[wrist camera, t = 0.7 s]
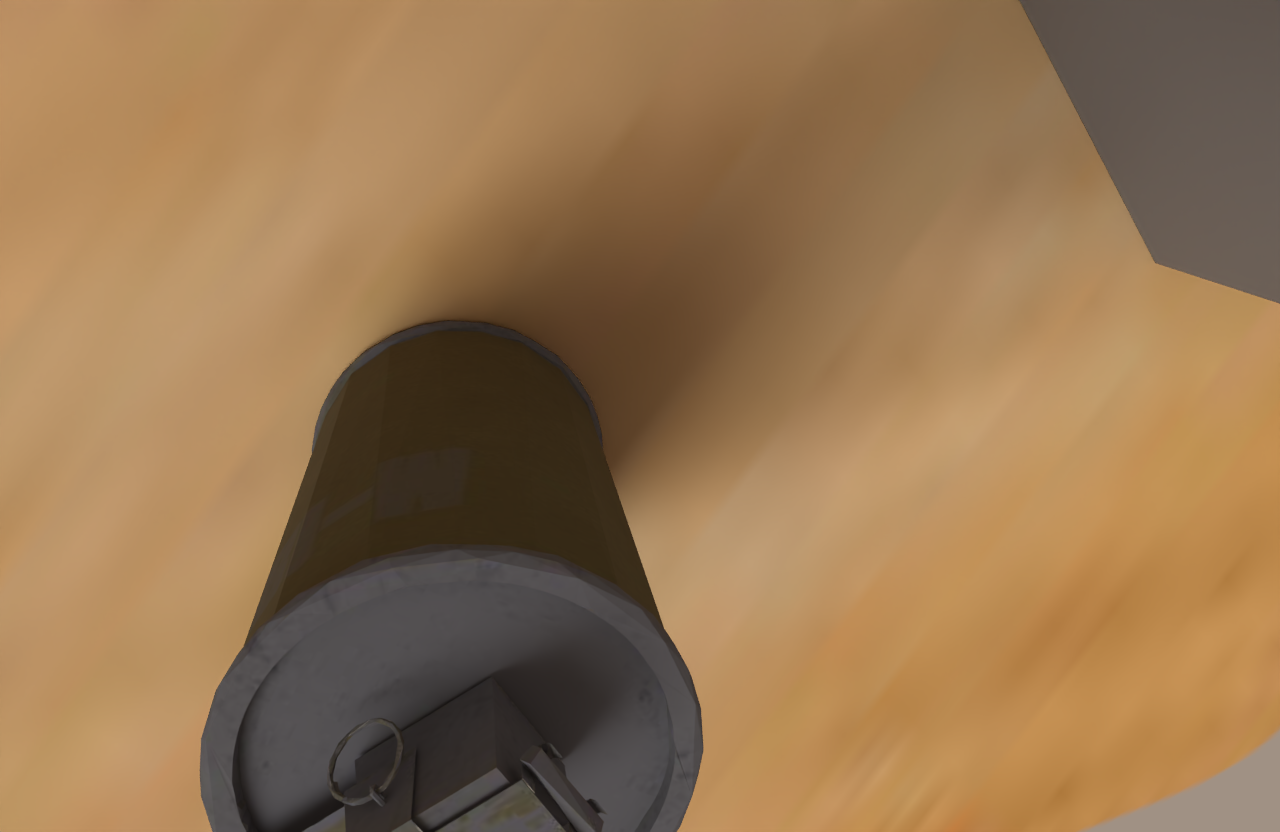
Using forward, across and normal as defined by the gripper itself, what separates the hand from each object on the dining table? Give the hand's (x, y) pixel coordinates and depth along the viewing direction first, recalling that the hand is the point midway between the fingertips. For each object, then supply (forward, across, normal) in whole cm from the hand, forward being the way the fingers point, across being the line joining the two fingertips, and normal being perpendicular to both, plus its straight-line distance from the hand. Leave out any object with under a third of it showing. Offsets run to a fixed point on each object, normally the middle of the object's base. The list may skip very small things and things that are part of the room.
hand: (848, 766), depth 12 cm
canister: (+26, -6, -5) cm, 27 cm away
